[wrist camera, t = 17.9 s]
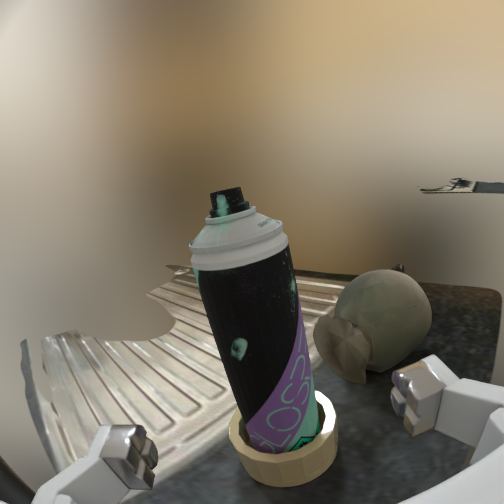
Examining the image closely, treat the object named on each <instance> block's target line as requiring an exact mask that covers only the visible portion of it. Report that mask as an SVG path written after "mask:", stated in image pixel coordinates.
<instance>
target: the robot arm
mask: <svg viewBox="0 0 504 504" xmlns="http://www.w3.org/2000/svg"><path fill="white" fill-rule="evenodd" d="M392 382H393V384H394V385H395V386H394V387H393V389H392V390H391V401H392V406H393V408H394V410H395V412H396V414H397V416H399V417H402V418H404V423H403V425H404V427H405V428H406V430H407V431H408V433H409V435H410V436H411V438H413V437H415V436H417V435H420V434H422V433H424V432H426V431H429V430H431V429H433V428H434V429H435V430H437V431H440V432H442V433H444V434H446V435H448V436H450V437H452V438H455V439H457V440H459V441H461V442H464V443H466V444H468V445H470V446H473V447H475V448H476V449H475V451H474V454H473V456H472V458H471V460H470V463H469V464H470V465H471V466H470V467H468V468H467V469H465V470H463V471H462V472H460V473H458V474H456V475H455V476H453V477H451V478H449V479H448V480H446V481H444V482H442V483H440V484H438V485H436V486H434V487H432V488H430V489H428V490H426V491H424V492H422V493H420V494H418V495H416V496H414V497H411V498H409V499H407V500H405V501H402V502H400V503H398V504H504V387H501V386H496V385H492V384H487V383H483V382H478V381H474V380H470V379H466V378H463V379H461V380H460V379H459V378H458V377H457V376H456V375H455V374H454V373H453V372H452V371H451V370H450V369H449V368H448V367H447V366H446V365H445V364H444V363H443V362H442V361H441V360H440V359H439V358H438V357H437V356H436V355H430V356H428V357H426V358H424V359H422V360H420V361H417V362H415V363H412V364H410V365H408V366H405V367H403V368H400V369H398V370H395V371H393V373H392ZM146 433H147V432H146V430H145V429H144V427H143V426H142V425H101V426H100V427H99V428H98V430H97V433H96V435H95V437H94V439H93V441H92V444H91V446H90V448H89V450H88V453H87V455H86V457H81V458H80V459H78V460H77V461H76V462H74V463H73V464H71V465H70V466H69V467H67V468H66V469H65V470H63V471H62V472H60V473H59V474H58V475H56V476H55V477H53V478H52V479H51V480H49V481H48V482H46V483H45V484H44V485H42V486H41V487H39V489H38V491H37V493H36V495H35V497H34V500H33V502H32V504H118V503H119V502H120V501H121V500H122V499H123V498H124V497H125V496H126V494H127V493H128V492H129V491H130V490H129V489H137V490H152V486H153V482H154V477H155V474H154V473H153V471H152V470H153V469H154V468H155V467H156V466H157V463H158V451H157V448H156V446H155V444H154V442H153V441H152V440H150V439H149V438H147V437H146ZM0 504H7V503H5V502H2V501H0Z"/></svg>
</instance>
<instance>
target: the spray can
mask: <svg viewBox="0 0 504 504" xmlns="http://www.w3.org/2000/svg"><path fill="white" fill-rule="evenodd" d="M210 197H211V203H212V207H213V209H211V210H210V216H208V217H206V219H205V221H206V223H207V225H206V226H205V227H204V228H203V229H202V230H201V232H200V233H199V234H198V236H197V237H196V238H195V239H194V240H192V242H190V244H189V249H190V251H191V252H193V253H192V256H191V263H192V267H193V270H194V274H195V277H196V281H197V284H198V287H199V291H200V294H201V297H202V301H203V304H204V307H205V310H206V314H207V317H208V320H209V323H210V326H211V329H212V332H213V335H214V339H215V342H216V345H217V348H218V351H219V354H220V357H221V360H222V363H223V365H224V368H225V371H226V374H227V377H228V380H229V383H230V385H231V388H232V391H233V394H234V397H235V399H236V402H237V405H238V408H239V410H240V413H241V416H242V418H243V421H244V424H245V426H246V429H247V431H248V434H249V437H250V439H251V442H252V444H253V447H254V449H255V450H256V451H258V452H262V453H270V454H281V453H286V452H291V451H295V450H298V449H300V448H301V447H303V446H305V445H307V444H309V443H310V442H312V441H313V440H314V439H315V438H316V436H317V435H318V434H319V433H320V432H321V430H320V423H319V416H318V409H317V403H316V396H315V389H314V383H313V377H312V370H311V364H310V358H309V352H308V346H307V340H306V334H305V329H304V323H303V317H302V312H301V306H300V301H299V295H298V290H297V285H296V279H295V274H294V269H293V264H292V259H291V254H290V249H289V244H288V239H287V236H286V234H285V233H283V232H282V230H283V224H282V222H281V221H279V220H273V219H271V218H269V217H267V216H264V215H262V214H259V213H255V212H256V208H255V206H249V202H248V201H244V198H243V195H242V191H241V188H240V187H236V188H232V189H227V190H222V191H218V192H214V193H211V194H210Z"/></svg>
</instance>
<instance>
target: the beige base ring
mask: <svg viewBox="0 0 504 504" xmlns="http://www.w3.org/2000/svg"><path fill="white" fill-rule="evenodd" d="M315 396H316V403H317V409H318V416H319V423H320V430H321V432H320V433H319V434H318V435H317V436H316V438H315V439H314V440H313V441H312V442H310V443H309V444H307V445H305V446H303V447H301V448H300V449H298V450H295V451H291V452H286V453H281V454H270V453H262V452H258V451H256V450H255V449H254V447H253V444H252V442H251V439H250V437H249V434H248V431H247V429H246V426H245V424H244V421H243V418H242V416H241V413H240V410H239V408H238V409H237V410H236V412H235V414H234V415H233V417H232V419H231V421H230V423H229V439H230V441H231V443H232V445H233V447H234V450H235V452H236V454H237V456H238V458H239V460H240V461H241V463H242V465H243V467H244V469H245V471H246V472H247V473H248V474H249V475H250V476H251V477H252V478H253V479H255V480H256V481H258V482H260V483H262V484H265V485H268V486H273V487H292V486H298V485H301V484H304V483H307V482H310V481H312V480H314V479H315V478H317V477H318V476H320V475H321V474H323V473H324V472H325V471H326V470H327V469H328V468H329V467H330V465H331V464H332V463H333V461H334V459H335V457H336V454H337V450H338V427H337V415H336V412H335V409H334V407H333V404H332V402H331V401H330V400H329V399H328V398H327V397H325V396H324V395H323V394H322V393H321V392H318V391H315Z"/></svg>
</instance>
